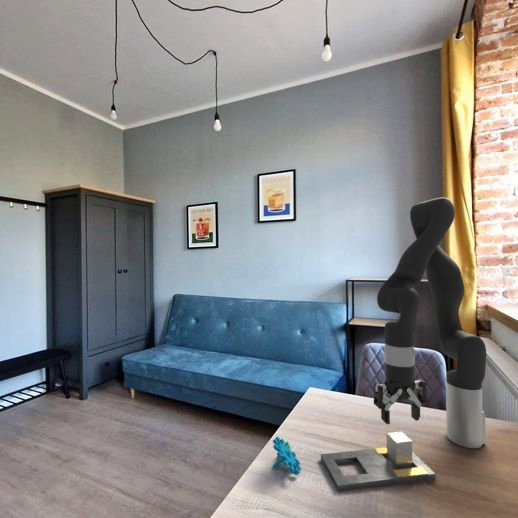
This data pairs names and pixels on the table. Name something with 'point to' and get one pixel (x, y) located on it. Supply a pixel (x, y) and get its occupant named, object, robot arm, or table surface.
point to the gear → (286, 456)
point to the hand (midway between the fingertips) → (400, 420)
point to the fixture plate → (373, 470)
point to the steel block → (399, 450)
